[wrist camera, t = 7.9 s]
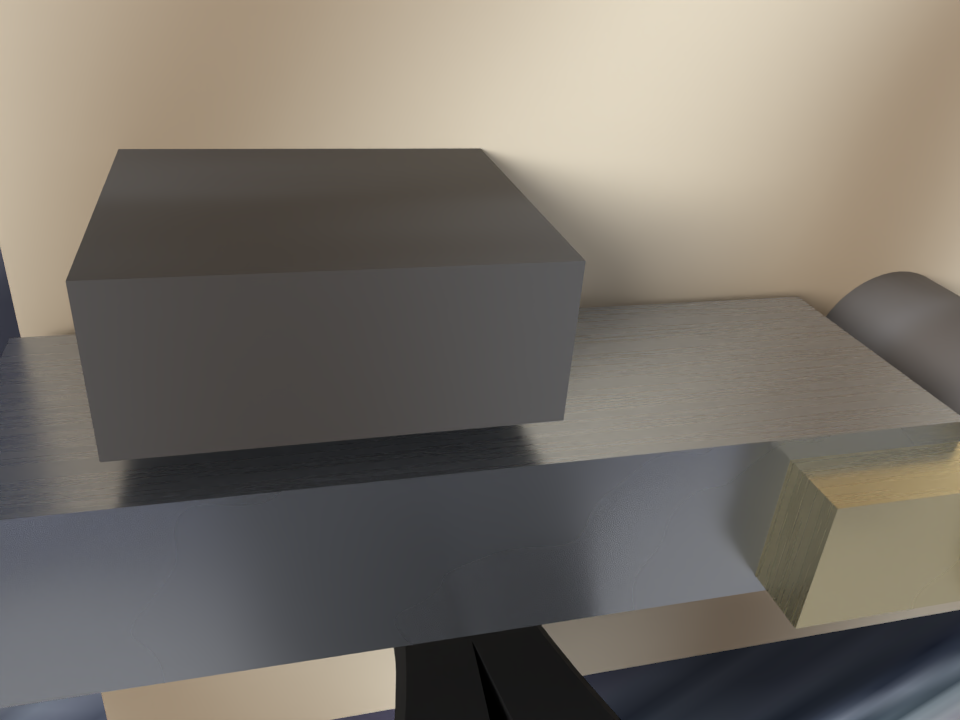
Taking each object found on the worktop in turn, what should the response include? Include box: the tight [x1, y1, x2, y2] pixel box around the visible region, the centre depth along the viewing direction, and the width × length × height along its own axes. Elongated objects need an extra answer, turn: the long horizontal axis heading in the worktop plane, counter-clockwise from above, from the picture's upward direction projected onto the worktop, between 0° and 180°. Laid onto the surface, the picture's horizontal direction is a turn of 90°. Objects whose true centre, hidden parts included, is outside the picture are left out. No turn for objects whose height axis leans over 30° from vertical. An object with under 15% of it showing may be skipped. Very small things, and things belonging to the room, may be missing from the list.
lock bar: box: [0, 297, 960, 708], centre depth 7 cm, size 10×3×3 cm, turn 86°
